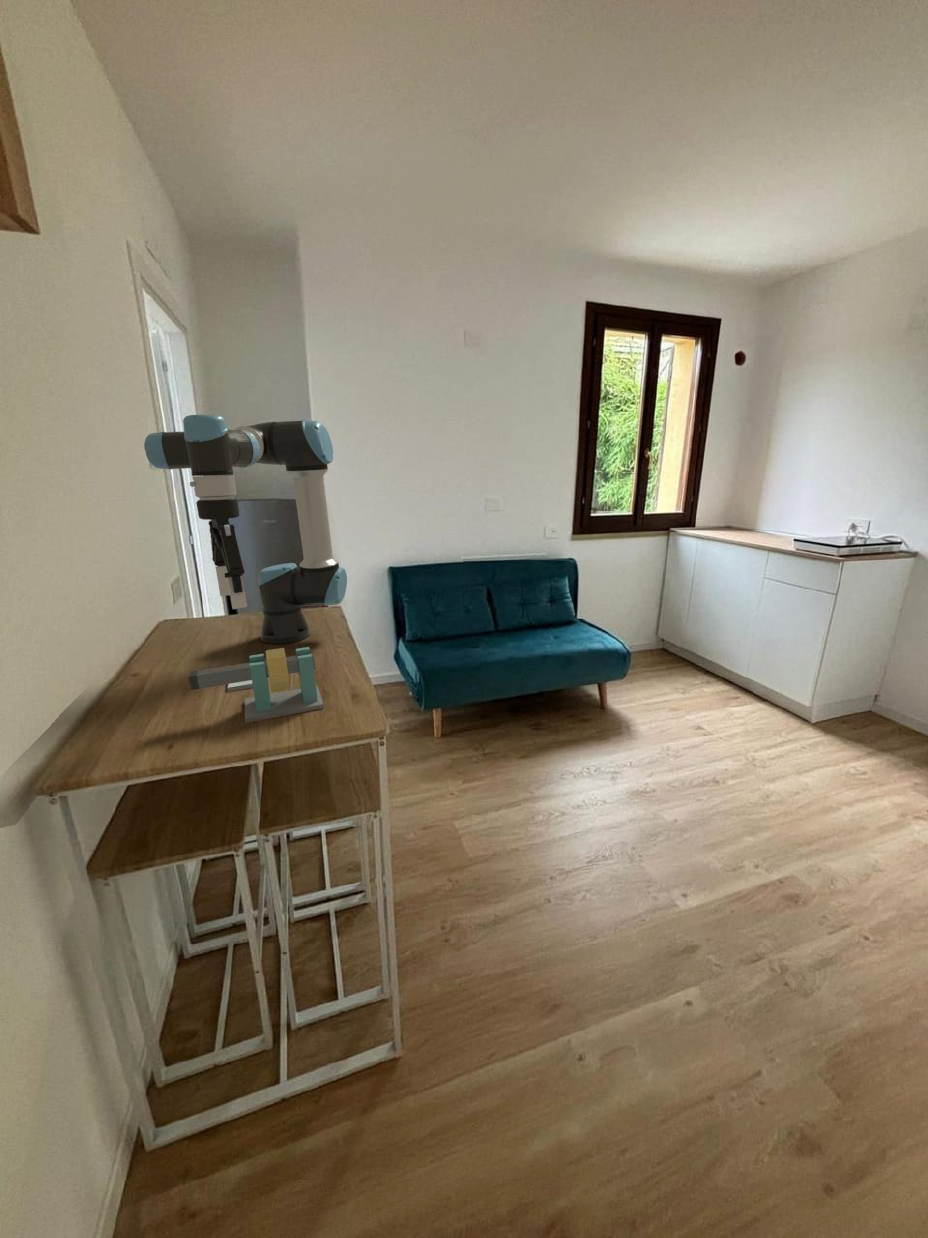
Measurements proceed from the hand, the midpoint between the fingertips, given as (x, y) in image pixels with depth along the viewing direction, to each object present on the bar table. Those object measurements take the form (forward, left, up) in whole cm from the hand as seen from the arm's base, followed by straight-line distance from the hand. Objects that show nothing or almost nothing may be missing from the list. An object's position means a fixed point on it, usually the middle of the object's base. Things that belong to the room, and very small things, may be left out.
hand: (233, 601), depth 108 cm
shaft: (0, +2, -18) cm, 18 cm away
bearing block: (0, +7, -26) cm, 27 cm away
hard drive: (-20, -1, -26) cm, 33 cm away
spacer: (0, +7, -21) cm, 22 cm away
